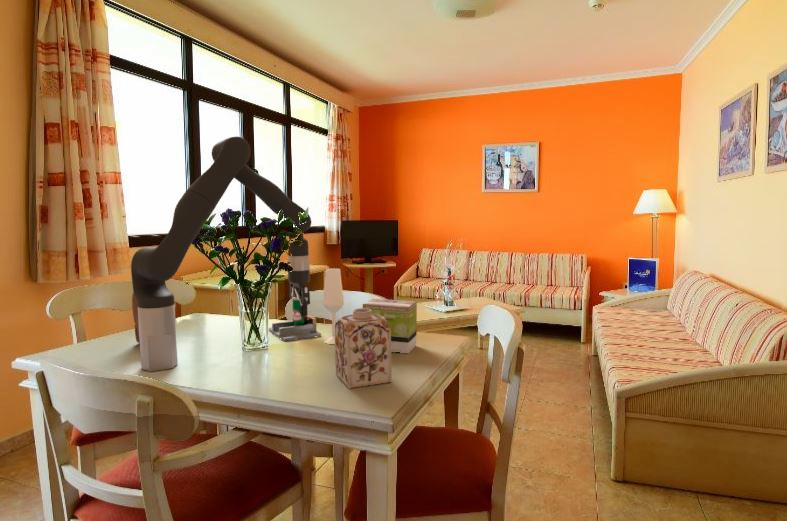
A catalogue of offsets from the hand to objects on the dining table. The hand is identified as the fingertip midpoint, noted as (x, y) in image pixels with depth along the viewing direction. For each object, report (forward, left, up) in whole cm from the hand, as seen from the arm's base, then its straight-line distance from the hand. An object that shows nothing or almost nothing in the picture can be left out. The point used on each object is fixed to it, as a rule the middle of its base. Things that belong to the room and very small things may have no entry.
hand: (300, 314), depth 176 cm
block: (+11, +47, -7) cm, 49 cm away
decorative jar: (-55, +3, -7) cm, 56 cm away
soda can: (0, 0, -6) cm, 6 cm away
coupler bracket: (0, +2, -7) cm, 7 cm away
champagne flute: (-18, -5, -7) cm, 20 cm away
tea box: (-34, -17, -7) cm, 39 cm away
